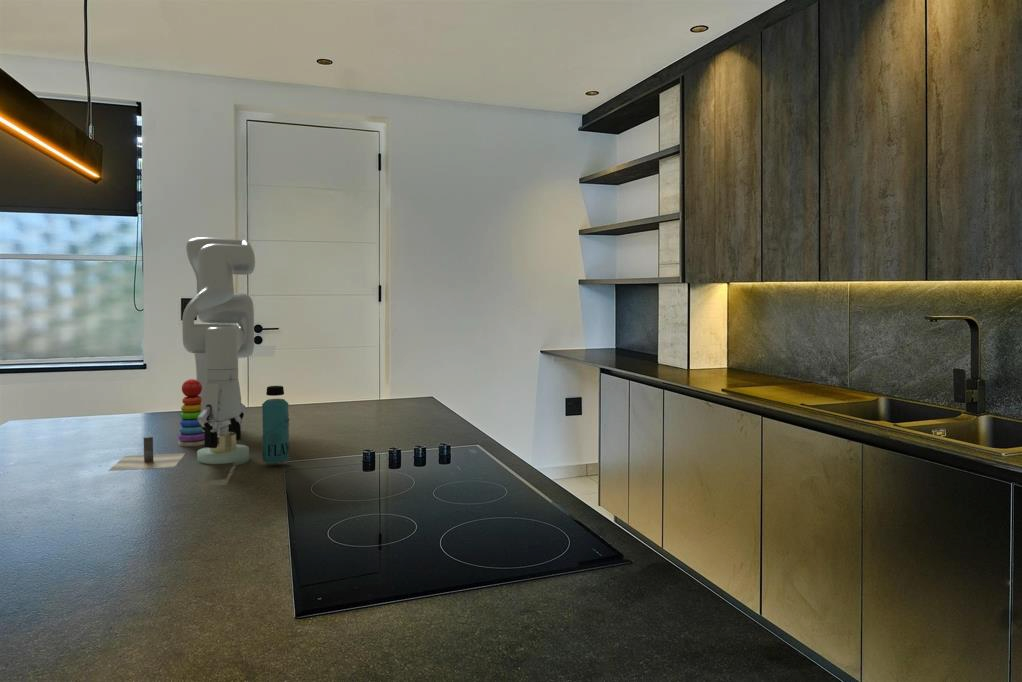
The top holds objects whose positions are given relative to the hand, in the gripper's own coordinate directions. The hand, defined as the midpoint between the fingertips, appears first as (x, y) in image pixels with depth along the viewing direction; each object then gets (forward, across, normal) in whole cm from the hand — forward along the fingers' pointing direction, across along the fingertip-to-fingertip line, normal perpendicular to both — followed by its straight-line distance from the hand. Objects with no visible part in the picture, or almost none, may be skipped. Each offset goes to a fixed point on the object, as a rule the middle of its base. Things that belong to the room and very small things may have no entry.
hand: (223, 443), depth 166 cm
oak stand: (+5, +8, -15) cm, 18 cm away
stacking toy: (+5, -12, -18) cm, 22 cm away
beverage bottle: (+5, 0, +15) cm, 16 cm away
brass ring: (+2, 0, 0) cm, 2 cm away
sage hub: (+5, 0, 0) cm, 5 cm away
